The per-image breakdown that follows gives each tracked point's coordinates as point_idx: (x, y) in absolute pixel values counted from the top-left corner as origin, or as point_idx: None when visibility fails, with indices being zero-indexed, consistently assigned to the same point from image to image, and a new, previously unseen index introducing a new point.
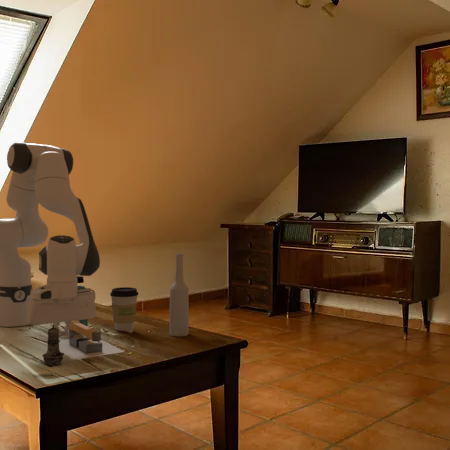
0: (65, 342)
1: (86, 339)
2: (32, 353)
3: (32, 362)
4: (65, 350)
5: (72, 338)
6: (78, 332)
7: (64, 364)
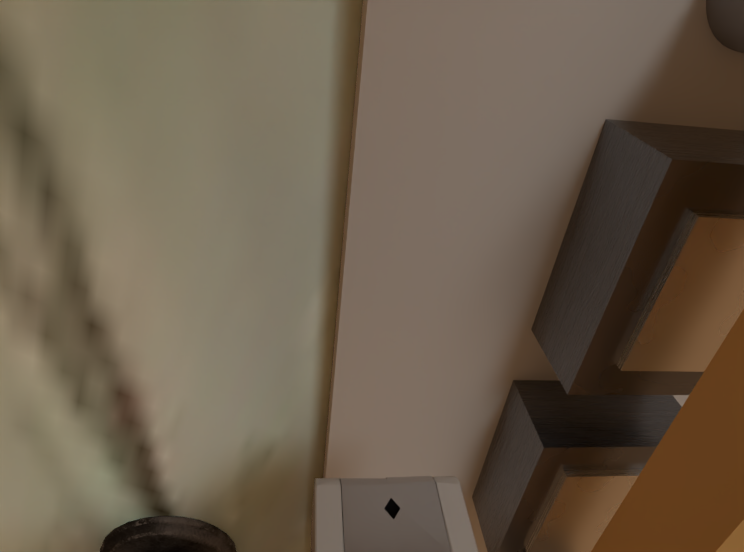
0: (623, 4)
1: (679, 386)
2: (62, 119)
3: (33, 416)
4: (395, 355)
5: (609, 278)
6: (707, 379)
7: (259, 530)
